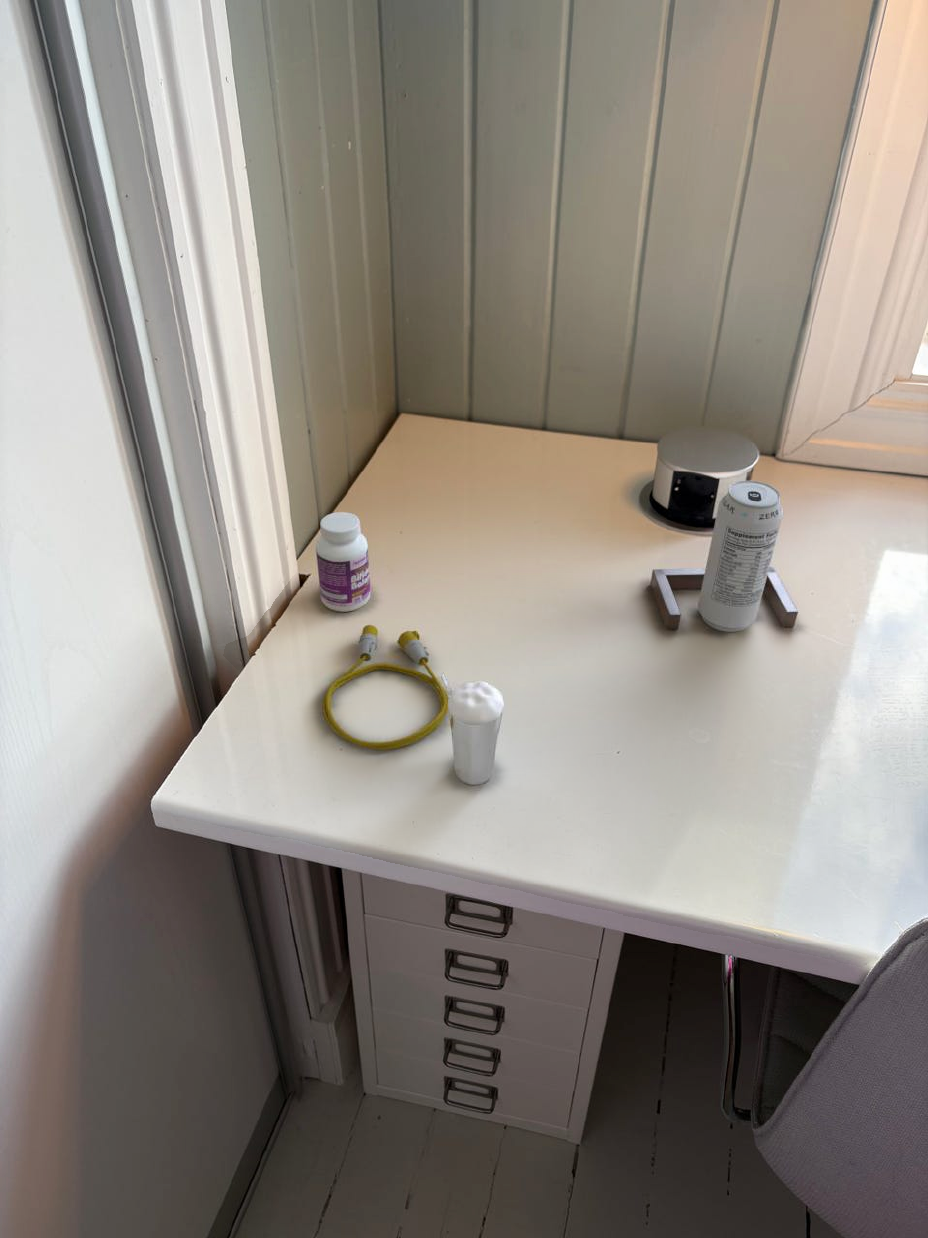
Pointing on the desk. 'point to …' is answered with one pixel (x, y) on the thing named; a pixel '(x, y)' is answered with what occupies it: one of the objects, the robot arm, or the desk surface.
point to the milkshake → (474, 729)
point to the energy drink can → (740, 555)
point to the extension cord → (413, 650)
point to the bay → (693, 579)
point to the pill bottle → (343, 563)
